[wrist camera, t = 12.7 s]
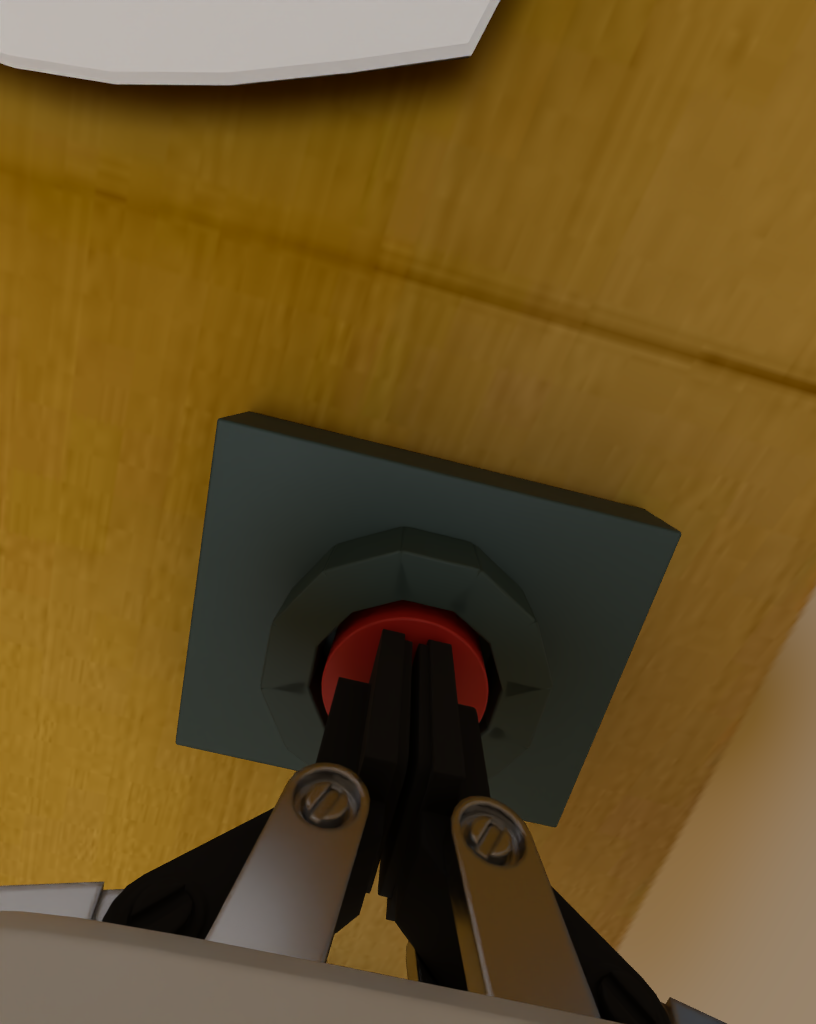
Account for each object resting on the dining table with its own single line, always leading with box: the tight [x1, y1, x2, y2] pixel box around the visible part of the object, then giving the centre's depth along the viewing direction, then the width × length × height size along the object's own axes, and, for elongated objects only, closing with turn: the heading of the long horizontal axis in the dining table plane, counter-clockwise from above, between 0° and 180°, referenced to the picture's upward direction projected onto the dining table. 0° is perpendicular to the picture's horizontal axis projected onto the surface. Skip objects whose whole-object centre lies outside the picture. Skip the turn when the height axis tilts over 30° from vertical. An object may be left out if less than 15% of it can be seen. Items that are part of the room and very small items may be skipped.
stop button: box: [321, 600, 489, 722], centre depth 12 cm, size 4×4×2 cm
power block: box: [176, 411, 681, 827], centre depth 14 cm, size 12×10×4 cm
